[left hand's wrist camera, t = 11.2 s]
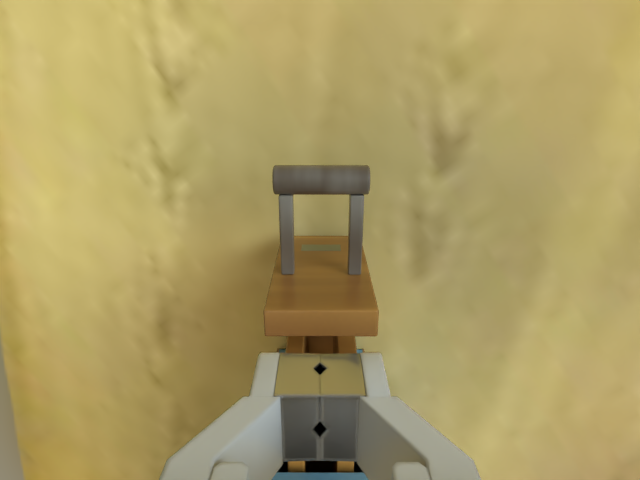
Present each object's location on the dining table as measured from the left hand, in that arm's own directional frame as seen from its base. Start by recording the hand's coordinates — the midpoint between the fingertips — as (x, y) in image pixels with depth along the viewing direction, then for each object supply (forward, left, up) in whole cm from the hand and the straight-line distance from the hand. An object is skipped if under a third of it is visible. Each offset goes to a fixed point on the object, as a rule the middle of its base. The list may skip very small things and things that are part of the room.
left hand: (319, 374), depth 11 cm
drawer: (+3, +7, -14) cm, 16 cm away
